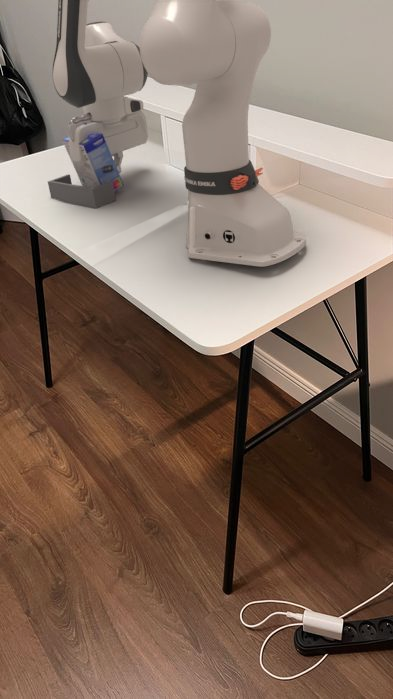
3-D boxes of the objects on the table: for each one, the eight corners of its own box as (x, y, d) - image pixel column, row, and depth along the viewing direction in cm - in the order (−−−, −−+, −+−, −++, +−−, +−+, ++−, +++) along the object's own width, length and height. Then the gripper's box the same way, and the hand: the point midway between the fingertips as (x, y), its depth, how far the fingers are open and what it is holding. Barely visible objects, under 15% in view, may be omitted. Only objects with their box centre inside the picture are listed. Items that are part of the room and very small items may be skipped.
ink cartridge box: (126, 185, 135) (98, 122, 126) (106, 198, 133) (77, 135, 124) (103, 177, 142) (75, 117, 133) (84, 190, 140) (54, 130, 131)
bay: (115, 200, 131) (112, 181, 129) (95, 208, 127) (92, 189, 125) (71, 192, 140) (67, 174, 137) (51, 199, 136) (47, 181, 134)
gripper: (76, 120, 123) (88, 189, 130) (148, 99, 136) (156, 163, 143) (56, 118, 127) (69, 185, 134) (128, 98, 140) (137, 160, 147)
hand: (114, 174), depth 139 cm, fingers closed
